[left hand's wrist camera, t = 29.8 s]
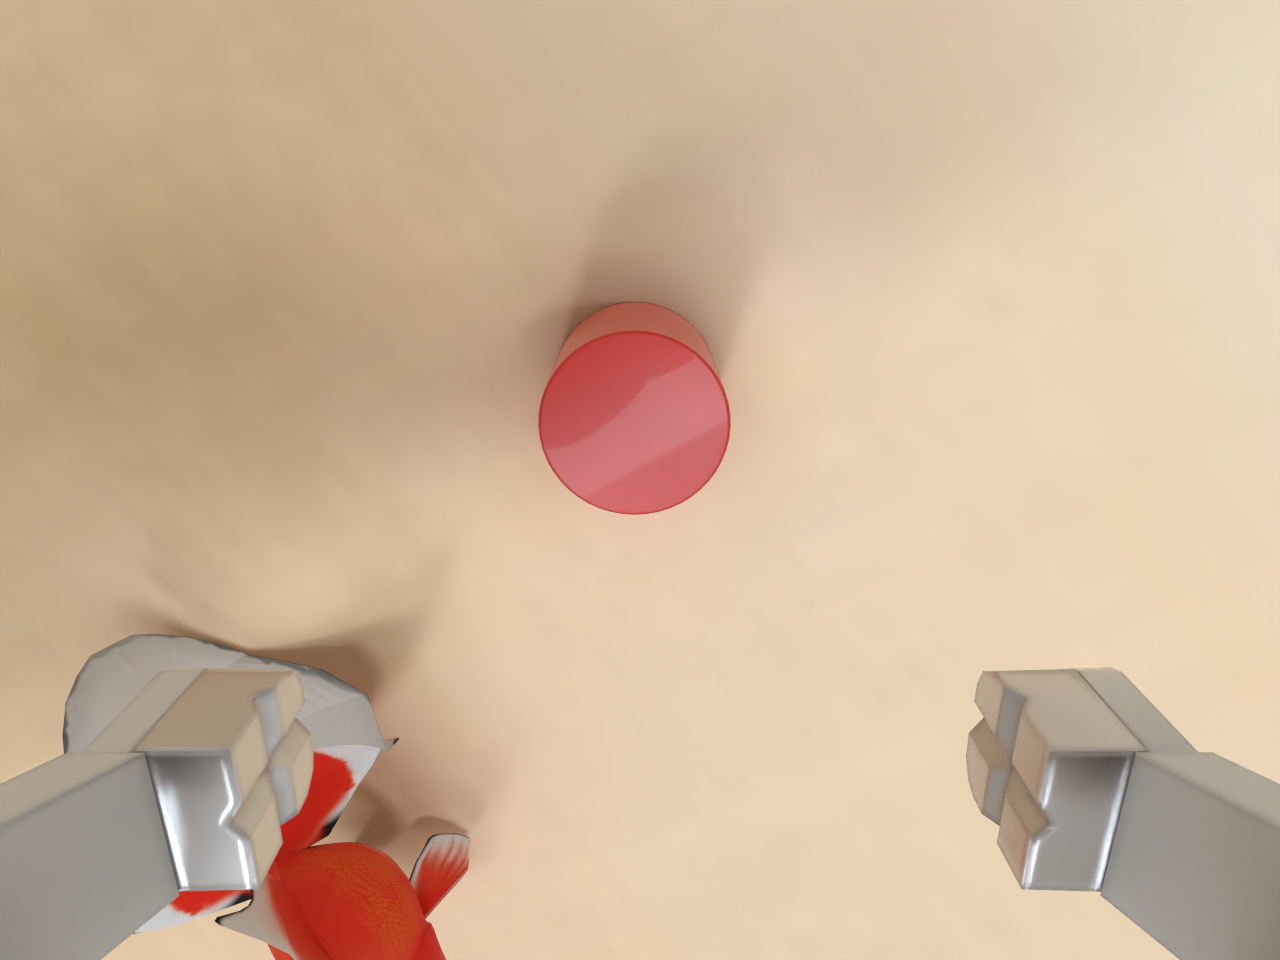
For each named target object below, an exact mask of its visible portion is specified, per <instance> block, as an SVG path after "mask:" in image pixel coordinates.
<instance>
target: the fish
mask: <svg viewBox="0 0 1280 960" xmlns="http://www.w3.org/2000/svg"><path fill="white" fill-rule="evenodd" d="M170 668H208V669H212V668H228V669H277V670H294V671H295V672H296V673H297V674H298V675H299V676H300V677H301V680H302V685H303V690H304V695H305V700H306V702H305V703H304V705H303V706H302V708H301V710H300V711H299V713H298V715H297V716H296V718H297V719H298V720H299V721H300V722H301V723H302V724H303V725H304V726H305V727H306V728H307V729H308V730H309V731H310V732H311V737H312V743H313V750H314V753H313V774H312V778H311V782H310V787H309V791H308V795H307V797H306V799H305V801H304V803H303V805H302V807H301V809H300V811H299V813H298V814H297V815H296V816H294V817H293V818H291V819H290V820H288V821H287V822H285V823H284V824H283V825H281V826H280V829H281V834H282V840H283V844H282V846H281V848H280V849H279V851H278V853H277V855H276V857H275V859H274V861H273V863H272V864H271V866H270V868H269V870H268V872H267V874H266V876H265V878H264V879H263V881H262V883H261V885H260V887H259V889H248V890H213V891H179V896H178V897H177V898H176V899H175V900H173V901H172V902H171V903H170V904H168V905H167V906H166V907H165V908H163V909H162V910H161V911H160V912H159V913H157V914H156V915H155V916H154V917H152V918H151V919H150V920H149V921H147V922H146V923H145V924H144V925H143V926H141V927H140V928H139V929H138V930H136V931H135V932H134V933H133V934H135V933H141V932H147V931H153V930H159V929H165V928H168V927H171V926H174V925H177V924H181V923H184V922H187V921H190V920H193V919H196V918H199V917H202V916H205V915H208V914H210V913H213V912H216V911H219V910H222V909H225V908H227V907H230V906H233V905H236V904H239V903H241V902H244V901H247V900H250V899H252V900H251V902H250V904H249V905H248V906H247V907H245V908H244V909H242V910H241V911H238V912H234V913H231V914H227V915H224V916H220V917H217V918H216V920H215V922H216V923H218V924H219V925H221V926H224V927H226V928H229V929H231V930H234V931H237V932H240V933H243V934H245V935H248V936H251V937H254V938H256V939H259V940H262V941H264V942H266V943H267V944H268V946H269V948H270V950H271V952H272V954H273V956H274V958H275V959H276V960H446V958H445V956H444V954H443V952H442V950H441V947H440V945H439V942H438V940H437V937H436V934H435V931H434V928H433V926H432V924H431V923H429V922H427V921H426V920H425V919H426V917H427V916H428V915H429V914H430V913H431V912H432V911H433V909H434V908H435V907H436V906H437V905H438V904H439V903H440V901H441V900H442V899H443V898H444V897H445V896H446V895H447V894H448V893H449V892H450V891H451V890H452V888H453V887H454V886H455V885H456V884H457V883H458V882H459V880H460V879H461V878H462V877H463V875H464V874H465V872H466V871H467V870H468V862H469V861H468V847H469V843H470V838H469V837H466V836H463V835H460V834H456V833H451V834H437V835H433V836H431V837H430V838H429V839H428V841H427V843H426V845H425V847H424V849H423V850H422V852H421V854H420V856H419V857H418V859H417V861H416V863H415V866H414V868H413V871H412V874H411V877H410V879H409V880H408V878H407V876H406V875H405V874H404V872H403V871H402V870H401V868H400V867H399V866H398V865H397V863H396V862H395V861H394V860H393V859H392V858H391V857H389V856H388V855H386V854H385V853H383V852H382V851H380V850H378V849H376V848H373V847H371V846H369V845H365V844H361V843H353V842H343V843H332V844H324V845H317V846H311V845H313V844H314V843H316V842H318V841H320V840H321V839H323V838H325V837H326V836H328V835H329V834H330V832H331V831H332V829H333V827H334V826H335V824H336V822H337V820H338V819H339V817H340V815H341V814H342V812H343V810H344V809H345V807H346V805H347V804H348V802H349V800H350V798H351V797H352V795H353V793H354V792H355V790H356V788H357V786H358V785H359V783H360V782H361V781H362V779H363V778H364V776H365V775H366V774H367V772H368V771H369V769H370V768H371V766H372V765H373V763H374V761H375V759H376V758H377V756H378V754H379V752H380V751H381V750H383V751H385V752H388V751H389V750H390V749H391V748H392V747H393V745H394V744H395V743H396V742H397V741H398V739H399V738H395V739H388V740H384V741H383V739H382V736H381V733H380V730H379V727H378V724H377V721H376V718H375V715H374V712H373V709H372V706H371V703H370V700H369V697H368V695H367V694H365V693H363V692H362V691H360V690H358V689H356V688H354V687H353V686H351V685H349V684H347V683H345V682H344V681H342V680H340V679H338V678H337V677H335V676H333V675H331V674H329V673H328V672H326V671H324V670H322V669H318V668H314V667H309V666H304V665H300V664H295V663H290V662H286V661H281V660H276V659H270V658H265V657H260V656H255V655H250V654H246V653H243V652H240V651H237V650H234V649H231V648H228V647H226V646H223V645H220V644H216V643H212V642H207V641H203V640H198V639H193V638H189V637H181V636H171V635H162V634H142V635H131V636H129V637H127V638H125V639H123V640H121V641H119V642H117V643H115V644H113V645H111V646H109V647H107V648H105V649H103V650H101V651H99V652H97V653H95V654H93V655H92V656H90V657H89V659H88V660H87V662H86V663H85V665H84V666H83V668H82V669H81V671H80V672H79V674H78V676H77V677H76V680H75V682H74V685H73V687H72V689H71V692H70V694H69V697H68V699H67V701H66V705H65V716H64V727H63V746H64V754H65V753H80V752H82V751H83V750H84V749H85V748H86V747H87V746H88V745H89V744H90V743H91V742H92V741H93V740H94V739H95V738H96V737H97V736H98V735H99V734H100V733H101V732H102V731H103V730H104V728H105V727H106V726H107V725H108V724H109V723H110V722H111V721H112V720H113V719H114V718H115V717H116V716H117V715H118V714H119V713H120V712H121V711H122V710H123V709H124V708H125V707H126V705H127V704H128V703H129V702H130V701H131V700H132V699H133V698H134V697H135V696H136V695H137V694H138V693H139V692H140V691H141V690H142V689H143V688H144V687H145V686H146V685H147V684H148V682H149V681H150V680H151V679H152V678H153V677H154V676H155V675H156V674H157V673H158V672H159V671H162V670H166V669H170Z"/></svg>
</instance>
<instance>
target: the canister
mask: <svg viewBox="0 0 1280 960" xmlns="http://www.w3.org/2000/svg"><path fill="white" fill-rule="evenodd" d="M730 427H731V425H730V410H729V404H728V400H727V397H726V393H725V390H724V387H723V385H722V382H721V379H720V377H719V374H718V371H717V369H716V366H715V364H714V361H713V358H712V356H711V353H710V351H709V349H708V346H707V344H706V343H705V341H704V339H703V338H702V336H701V335H700V334H699V332H698V331H697V330H696V329H695V328H694V327H693V326H692V325H691V324H690V323H689V322H688V321H687V320H686V319H684V318H683V317H681V316H680V315H678V314H677V313H675V312H673V311H671V310H669V309H667V308H664V307H661V306H658V305H654V304H649V303H640V302H630V303H621V304H616V305H612V306H609V307H606V308H603V309H601V310H599V311H597V312H595V313H594V314H592V315H591V316H589V317H588V318H586V319H585V320H584V321H583V322H581V323H580V324H579V325H578V326H577V327H576V328H575V329H574V331H573V332H572V333H571V334H570V336H569V337H568V339H567V340H566V342H565V343H564V345H563V348H562V350H561V352H560V354H559V356H558V359H557V361H556V364H555V366H554V368H553V371H552V373H551V376H550V378H549V380H548V383H547V385H546V388H545V390H544V393H543V397H542V400H541V404H540V410H539V434H540V440H541V444H542V448H543V451H544V454H545V456H546V459H547V461H548V463H549V465H550V466H551V468H552V470H553V472H554V473H555V474H556V476H557V477H558V478H559V480H560V481H561V482H562V483H563V484H564V485H565V486H566V487H567V488H568V489H569V490H570V491H571V492H573V493H574V494H575V495H576V496H578V497H579V498H581V499H582V500H584V501H586V502H587V503H589V504H591V505H594V506H596V507H598V508H601V509H604V510H607V511H610V512H616V513H621V514H634V515H635V514H648V513H654V512H659V511H662V510H665V509H669V508H671V507H674V506H676V505H678V504H680V503H682V502H684V501H685V500H687V499H689V498H690V497H692V496H693V495H694V494H695V493H697V492H698V491H699V490H700V489H701V488H702V487H703V486H704V485H705V484H706V483H707V482H708V481H709V480H710V479H711V477H712V476H713V475H714V473H715V472H716V471H717V469H718V467H719V465H720V463H721V462H722V459H723V457H724V454H725V452H726V449H727V445H728V441H729V436H730Z"/></svg>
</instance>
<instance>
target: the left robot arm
mask: <svg viewBox="0 0 1280 960" xmlns="http://www.w3.org/2000/svg"><path fill="white" fill-rule="evenodd" d="M305 702H306V700H305V695H304V690H303V685H302V680H301V677H300V676H299V675H298V674H297V673H296V672H295V671H294V670H277V669H228V668H212V669H208V668H170V669H166V670H162V671H159V672H158V673H157V674H156V675H155V676H154V677H153V678H152V679H151V680H150V681H149V682H148V684H147V685H146V686H145V687H144V688H143V689H142V690H141V691H140V692H139V693H138V694H137V695H136V696H135V697H134V698H133V699H132V700H131V701H130V702H129V703H128V704H127V705H126V707H125V708H124V709H123V710H122V711H121V712H120V713H119V714H118V715H117V716H116V717H115V718H114V719H113V720H112V721H111V722H110V723H109V724H108V725H107V726H106V727H105V728H104V730H103V731H102V732H101V733H100V734H99V735H98V736H97V737H96V738H95V739H94V740H93V741H92V742H91V743H90V744H89V745H88V746H87V747H86V748H85V749H84V750H83V751H82V752H80V753H65V754H63V755H61V756H59V757H57V758H55V759H53V760H51V761H48V762H46V763H44V764H42V765H40V766H38V767H36V768H34V769H31V770H29V771H27V772H25V773H23V774H21V775H19V776H17V777H15V778H12V779H10V780H8V781H6V782H4V783H2V784H0V960H101V959H102V958H103V957H104V956H106V955H107V954H108V953H109V952H111V951H112V950H113V949H114V948H115V947H117V946H118V945H119V944H120V943H122V942H123V941H124V940H125V939H127V938H128V937H129V936H130V935H131V934H133V933H134V932H135V931H136V930H138V929H139V928H140V927H141V926H143V925H144V924H145V923H146V922H147V921H149V920H150V919H151V918H152V917H154V916H155V915H156V914H157V913H159V912H160V911H161V910H162V909H163V908H165V907H166V906H167V905H168V904H170V903H171V902H172V901H173V900H175V899H176V898H177V897H178V896H179V891H213V890H248V889H259V887H260V885H261V883H262V881H263V879H264V878H265V876H266V874H267V872H268V870H269V868H270V866H271V864H272V863H273V861H274V859H275V857H276V855H277V853H278V851H279V849H280V848H281V846H282V844H283V840H282V834H281V829H280V826H281V825H283V824H284V823H285V822H287V821H288V820H290V819H291V818H293V817H294V816H296V815H297V814H298V813H299V811H300V809H301V807H302V805H303V803H304V801H305V799H306V797H307V795H308V791H309V787H310V782H311V778H312V774H313V753H314V750H313V743H312V737H311V732H310V731H309V730H308V729H307V728H306V727H305V726H304V725H303V724H302V723H301V722H300V721H299V720H298V719H297V718H296V716H297V715H298V713H299V711H300V710H301V708H302V706H303V705H304V703H305ZM974 702H975V703H976V705H977V706H978V708H979V710H980V711H981V713H982V715H983V716H984V718H983V719H982V720H981V721H980V722H979V723H978V724H977V725H976V726H975V727H974V728H973V729H972V730H971V731H970V732H969V737H968V745H967V753H966V761H967V772H968V781H969V784H970V787H971V791H972V794H973V797H974V799H975V801H976V803H977V805H978V807H979V809H980V811H981V813H982V814H983V815H984V816H986V817H987V818H989V819H990V820H992V821H993V822H995V823H996V824H997V825H999V826H1000V829H999V834H998V840H997V844H998V846H999V848H1000V849H1001V851H1002V853H1003V855H1004V857H1005V859H1006V861H1007V863H1008V864H1009V866H1010V868H1011V870H1012V872H1013V874H1014V876H1015V877H1016V879H1017V881H1018V883H1019V885H1020V887H1021V889H1030V890H1066V891H1101V896H1102V897H1103V898H1105V899H1106V900H1107V901H1108V902H1109V903H1111V904H1112V905H1113V906H1114V907H1116V908H1117V909H1118V910H1119V911H1121V912H1122V913H1123V914H1124V915H1125V916H1127V917H1128V918H1129V919H1130V920H1132V921H1133V922H1134V923H1135V924H1137V925H1138V926H1139V927H1140V928H1141V929H1143V930H1144V931H1145V932H1146V933H1148V934H1149V935H1150V936H1151V937H1153V938H1154V939H1155V940H1156V941H1157V942H1159V943H1160V944H1161V945H1162V946H1164V947H1165V948H1166V949H1167V950H1168V951H1170V952H1171V953H1172V954H1173V955H1175V956H1176V957H1177V958H1178V959H1180V960H1280V784H1278V783H1276V782H1274V781H1272V780H1270V779H1267V778H1265V777H1263V776H1261V775H1259V774H1257V773H1255V772H1253V771H1251V770H1248V769H1246V768H1244V767H1242V766H1240V765H1238V764H1236V763H1234V762H1231V761H1229V760H1227V759H1225V758H1223V757H1221V756H1219V755H1217V754H1215V753H1200V752H1198V751H1197V750H1196V749H1195V748H1194V747H1193V746H1192V745H1191V744H1190V743H1189V742H1188V741H1187V740H1186V739H1185V738H1184V737H1183V736H1182V735H1181V734H1180V733H1179V732H1178V730H1177V729H1176V728H1175V727H1174V726H1173V725H1172V724H1171V723H1170V722H1169V721H1168V720H1167V719H1166V718H1165V717H1164V716H1163V715H1162V714H1161V713H1160V712H1159V711H1158V710H1157V708H1156V707H1155V706H1154V705H1153V704H1152V703H1151V702H1150V701H1149V700H1148V699H1147V698H1146V697H1145V696H1144V695H1143V694H1142V693H1141V692H1140V691H1139V690H1138V689H1137V688H1136V686H1135V685H1134V684H1133V683H1132V682H1131V681H1130V680H1129V679H1128V678H1127V677H1126V676H1125V675H1124V674H1123V673H1122V672H1120V671H1118V670H1116V669H1113V668H1111V667H1106V668H1078V669H1060V670H1015V671H983V673H982V675H981V677H980V679H979V681H978V683H977V688H976V694H975V700H974Z"/></svg>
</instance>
